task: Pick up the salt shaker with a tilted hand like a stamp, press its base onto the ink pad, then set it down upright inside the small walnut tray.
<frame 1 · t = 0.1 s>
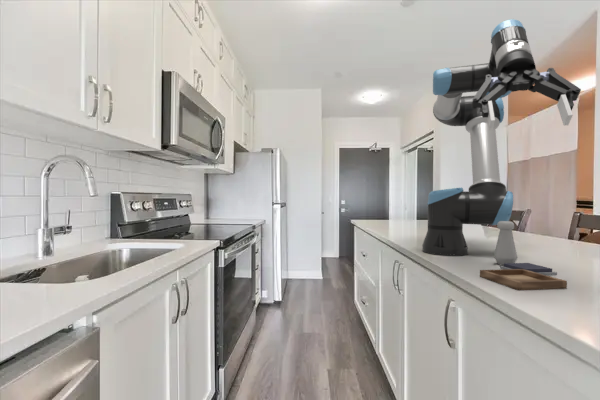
hand: (528, 122, 69), 36 cm above the worktop, tool tilted 35°, fingers open, 13 cm apart
salt shaker: (505, 265, 97), on the worktop
tray: (520, 282, 77), on the worktop
ink pad: (527, 271, 88), on the worktop
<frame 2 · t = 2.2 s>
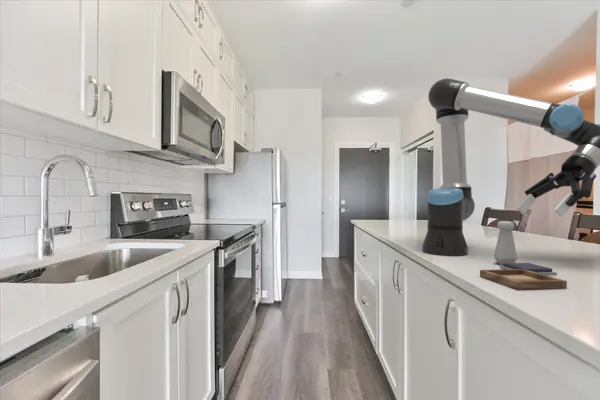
hand: (537, 212, 98), 16 cm above the worktop, tool tilted 45°, fingers open, 13 cm apart
nothing on the worktop moved.
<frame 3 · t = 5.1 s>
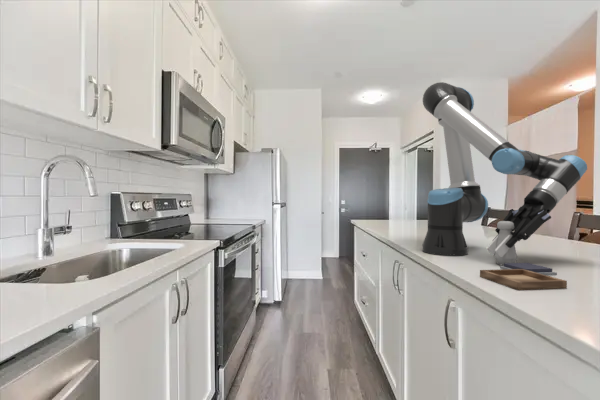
hand: (493, 252, 97), 4 cm above the worktop, tool tilted 45°, fingers closed on salt shaker, 3 cm apart
salt shaker: (505, 265, 97), on the worktop, touching gripper
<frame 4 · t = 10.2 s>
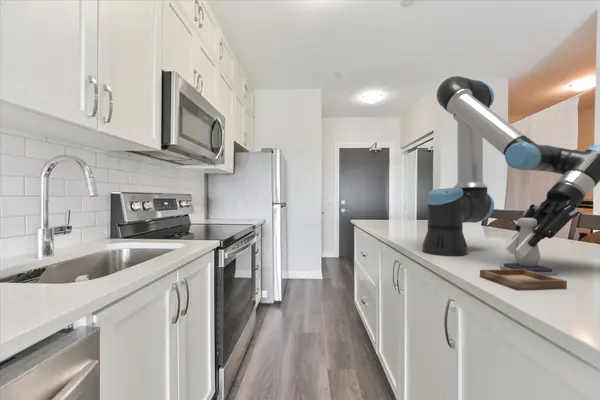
hand: (514, 252, 88), 5 cm above the worktop, tool tilted 45°, fingers closed on salt shaker, 3 cm apart
salt shaker: (526, 266, 88), point 1 cm above the worktop, touching gripper
when the fingers open (4 cm above the worktop, at t = 15.2 s): salt shaker stays where it is, resting on tray.
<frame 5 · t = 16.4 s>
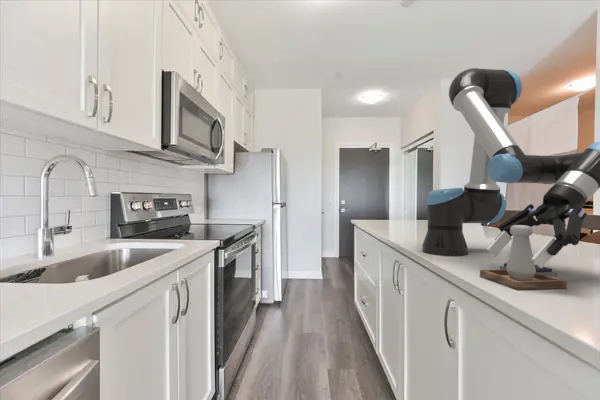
hand: (511, 257, 76), 6 cm above the worktop, tool tilted 45°, fingers open, 13 cm apart
salt shaker: (520, 280, 77), resting on tray
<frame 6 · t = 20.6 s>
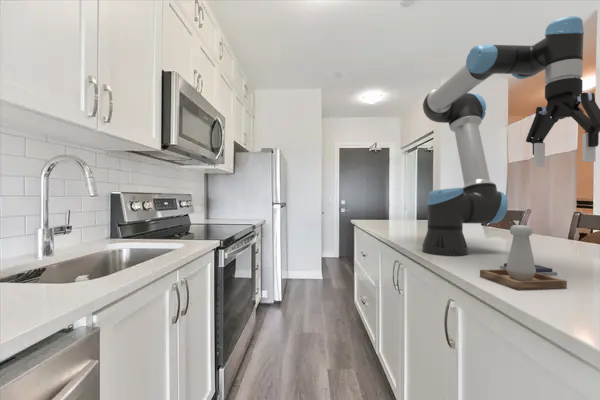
hand: (562, 164, 84), 29 cm above the worktop, tool pointing down, fingers open, 13 cm apart
nothing on the worktop moved.
at the end: salt shaker inside the target area on the tray (0.1 cm from its centre), point 0.3 cm above the tray's base; salt shaker tilted 0°; the gripper is holding nothing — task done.
